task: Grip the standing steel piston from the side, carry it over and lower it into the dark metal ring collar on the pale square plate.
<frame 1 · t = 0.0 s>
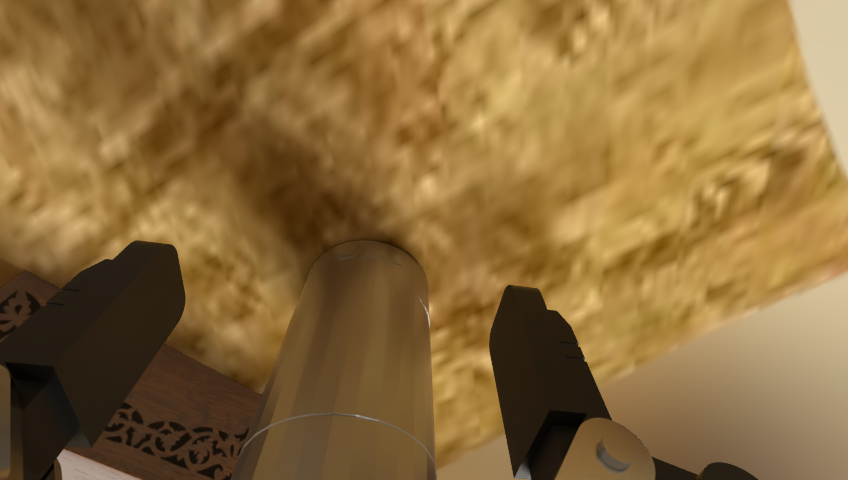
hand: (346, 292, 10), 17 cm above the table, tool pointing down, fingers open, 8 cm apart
tissue box cover: (151, 393, 38), on the table
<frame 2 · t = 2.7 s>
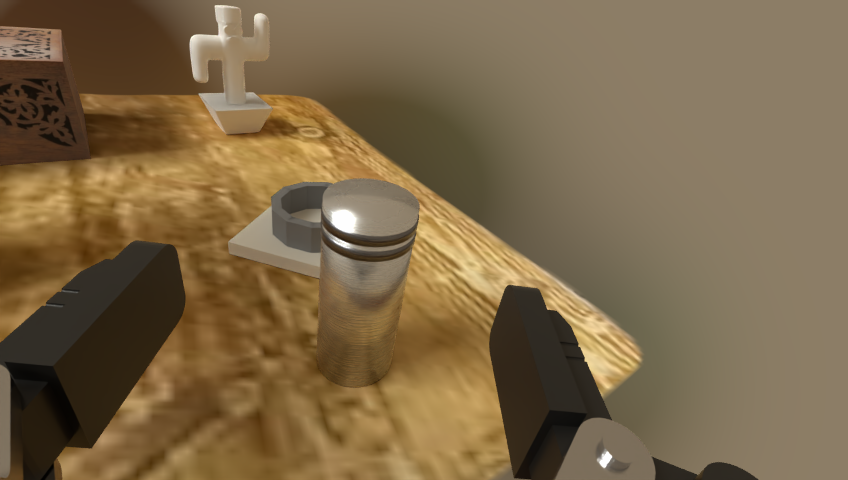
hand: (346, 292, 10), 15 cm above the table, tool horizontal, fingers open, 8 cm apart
figurine: (237, 129, 58), on the table
ring stand: (318, 237, 39), on the table
piston: (354, 355, 28), on the table
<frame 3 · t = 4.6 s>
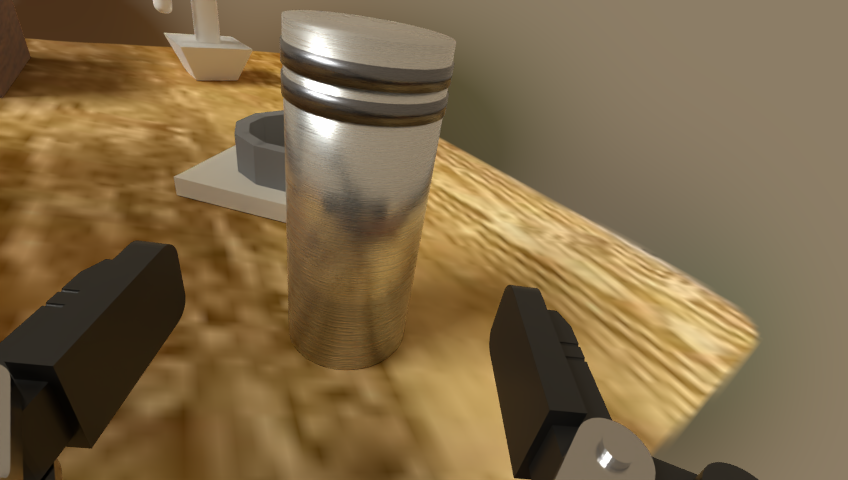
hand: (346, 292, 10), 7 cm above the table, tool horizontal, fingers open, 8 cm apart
figurine: (212, 77, 48), on the table
ring stand: (302, 181, 29), on the table
piston: (348, 324, 18), on the table
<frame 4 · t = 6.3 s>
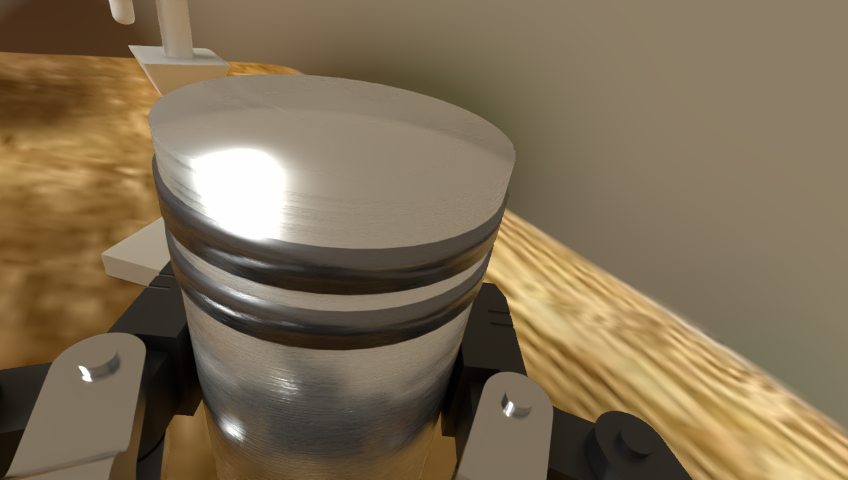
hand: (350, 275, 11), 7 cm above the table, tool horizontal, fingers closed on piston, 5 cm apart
figurine: (185, 95, 42), on the table
ring stand: (277, 244, 23), on the table
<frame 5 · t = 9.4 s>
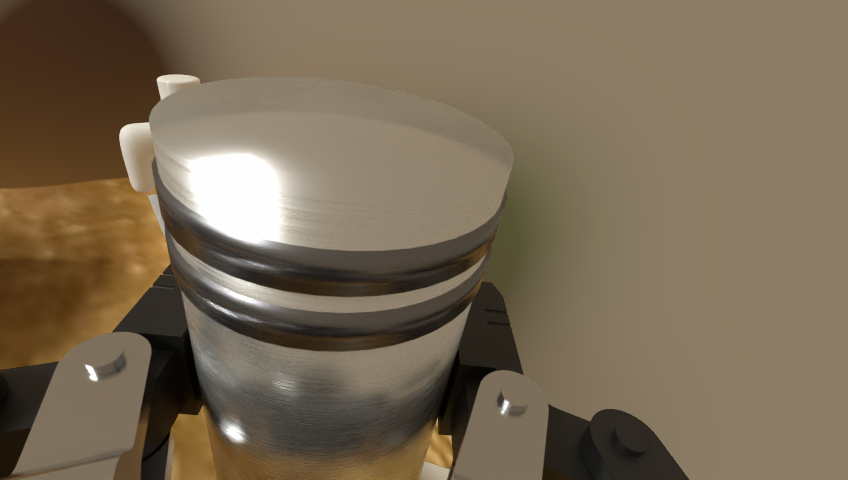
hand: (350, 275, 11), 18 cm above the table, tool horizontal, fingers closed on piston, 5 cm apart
figurine: (208, 241, 40), on the table
when the fingers open (9 cm above the table, at t = 12.5 s): piston stays where it is, resting on ring stand.
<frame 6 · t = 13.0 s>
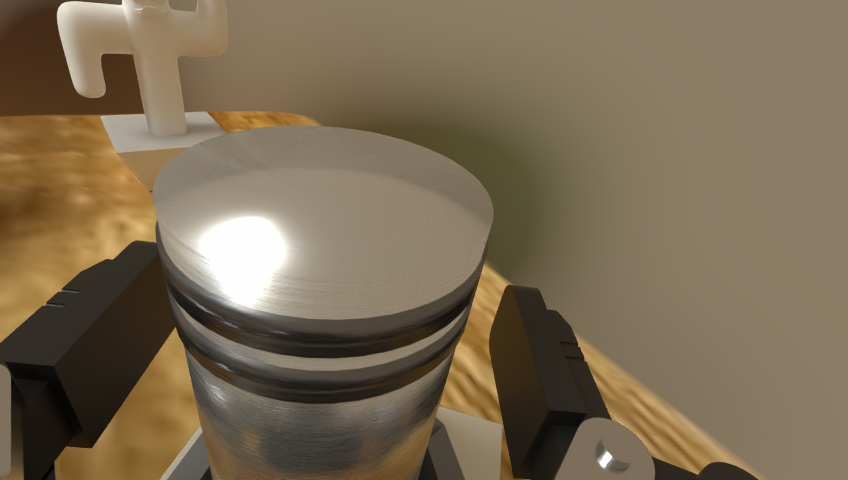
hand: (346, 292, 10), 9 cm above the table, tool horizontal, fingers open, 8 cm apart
figurine: (175, 177, 33), on the table
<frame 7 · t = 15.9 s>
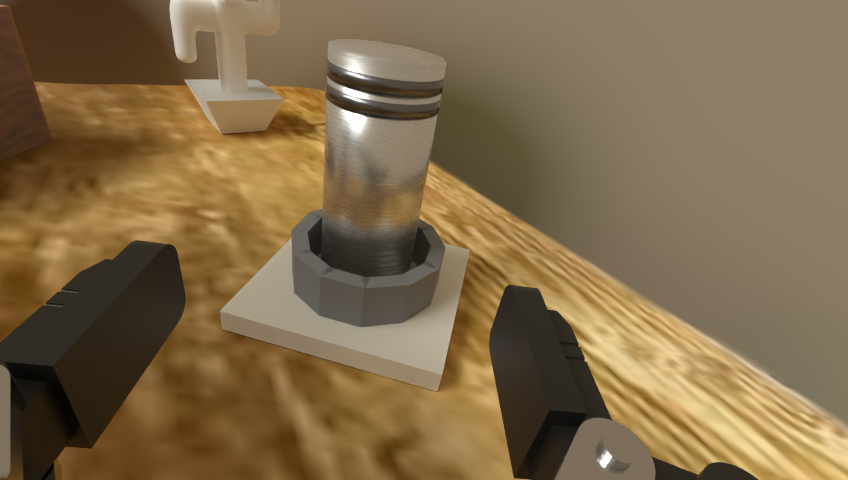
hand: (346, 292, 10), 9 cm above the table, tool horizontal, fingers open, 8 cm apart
figurine: (237, 127, 44), on the table
ring stand: (364, 291, 25), on the table
piston: (365, 275, 24), point 1 cm above the table, touching ring stand
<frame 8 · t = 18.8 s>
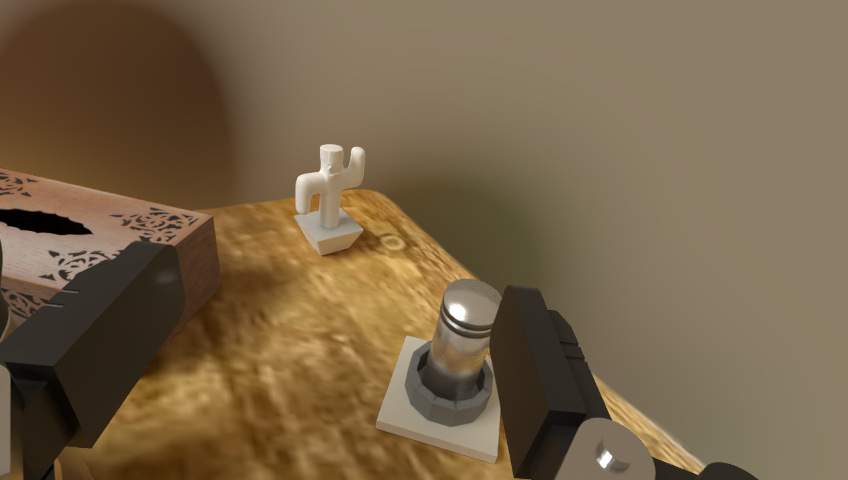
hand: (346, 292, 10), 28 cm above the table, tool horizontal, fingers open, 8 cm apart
figurine: (327, 245, 61), on the table
ring stand: (444, 395, 42), on the table
piston: (445, 388, 41), point 1 cm above the table, touching ring stand
tissue box cover: (70, 302, 45), on the table
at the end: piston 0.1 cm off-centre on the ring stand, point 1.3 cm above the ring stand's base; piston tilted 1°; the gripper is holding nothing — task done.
